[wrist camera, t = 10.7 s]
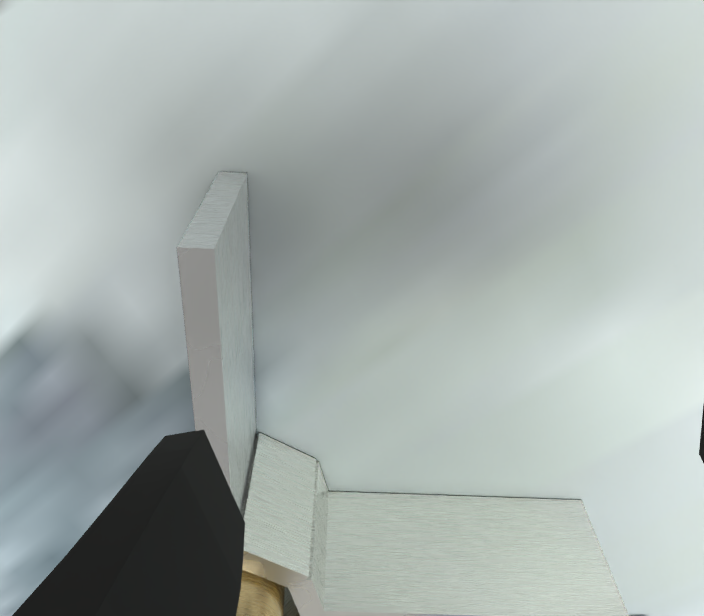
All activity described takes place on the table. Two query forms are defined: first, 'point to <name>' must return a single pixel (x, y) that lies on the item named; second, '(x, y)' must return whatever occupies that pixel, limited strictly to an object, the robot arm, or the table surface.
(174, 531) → the robot arm
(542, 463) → the table surface
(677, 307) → the table surface
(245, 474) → the steel hinge
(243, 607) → the hinge pin
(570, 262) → the table surface
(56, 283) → the table surface
